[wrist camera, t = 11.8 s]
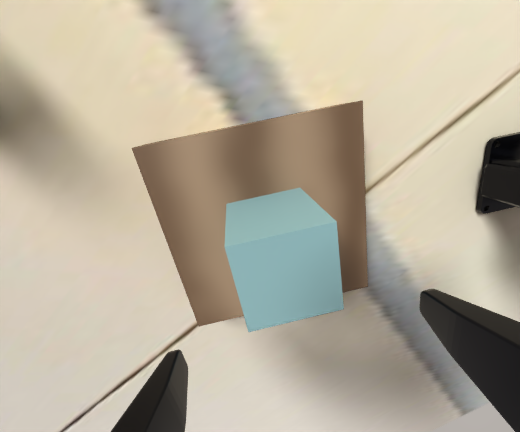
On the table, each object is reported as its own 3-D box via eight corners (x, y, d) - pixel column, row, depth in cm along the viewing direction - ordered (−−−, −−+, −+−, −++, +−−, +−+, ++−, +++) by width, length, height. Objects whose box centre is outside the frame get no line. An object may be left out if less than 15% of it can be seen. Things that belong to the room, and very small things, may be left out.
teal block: (300, 187, 16) (336, 221, 11) (308, 251, 18) (343, 309, 13) (226, 203, 16) (224, 247, 10) (242, 266, 18) (248, 332, 12)
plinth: (341, 104, 17) (362, 100, 15) (350, 266, 23) (367, 286, 20) (147, 143, 17) (131, 148, 14) (202, 300, 22) (198, 326, 19)
